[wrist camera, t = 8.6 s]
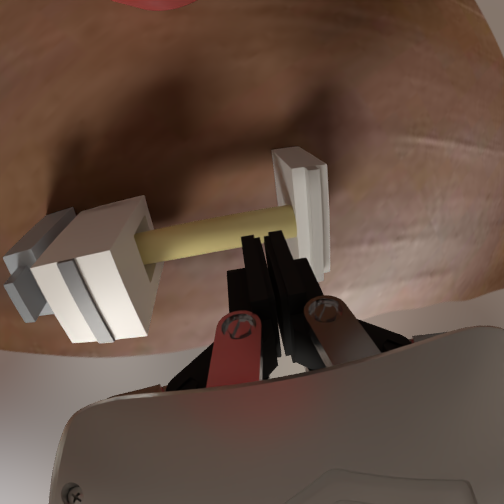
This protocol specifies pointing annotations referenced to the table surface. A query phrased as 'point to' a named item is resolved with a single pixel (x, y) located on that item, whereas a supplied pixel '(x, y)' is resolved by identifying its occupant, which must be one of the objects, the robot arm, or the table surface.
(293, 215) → the rail
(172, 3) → the flower pot
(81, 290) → the grooved sliding block
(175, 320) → the table surface
